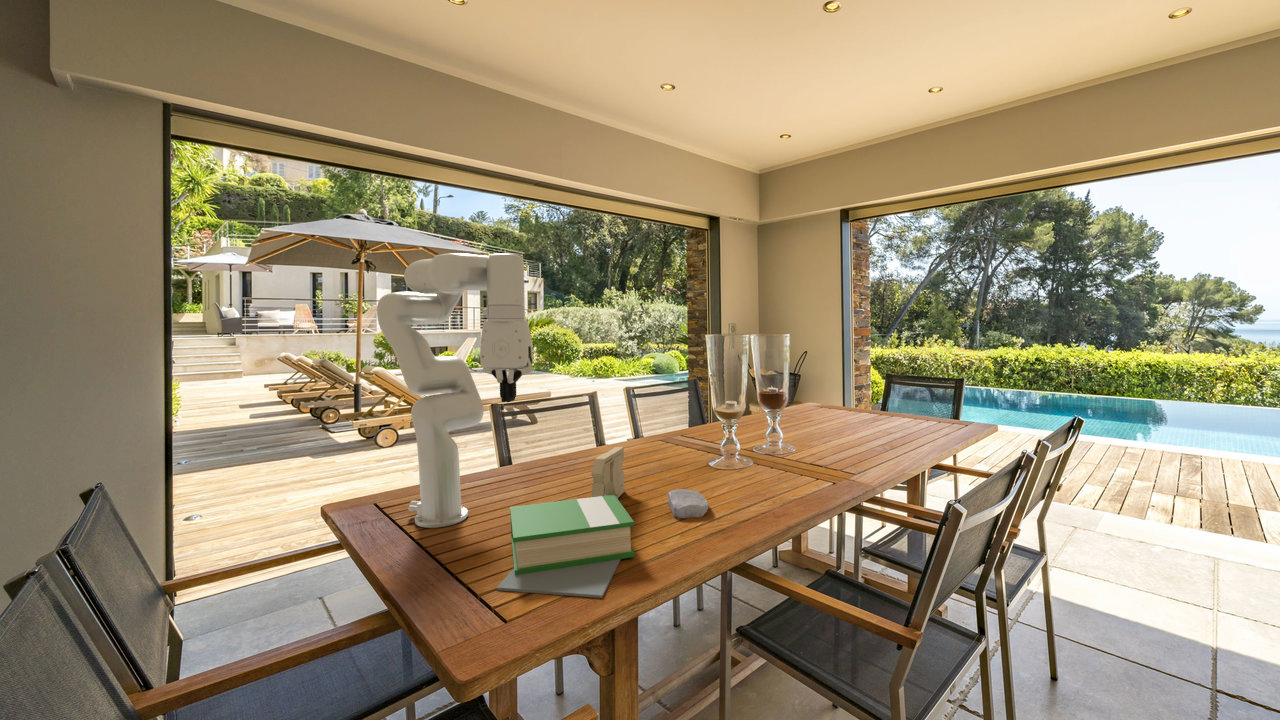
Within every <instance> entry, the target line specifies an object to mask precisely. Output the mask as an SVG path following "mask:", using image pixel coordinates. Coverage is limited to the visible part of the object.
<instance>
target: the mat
mask: <svg viewBox="0 0 1280 720" xmlns="http://www.w3.org/2000/svg"><path fill="white" fill-rule="evenodd" d="M621 560H622V559H618V560H611V561H604V562H598V563H591V564H585V565H578V566H572V567H565V568H559V569H552V570H546V571H539V572H533V573H526V574H520V575H515V571H514V568H512V569H511V571H510V572H509V573H508V574H507V576H505V577H504V578H503V579H502V581H501V582H500V583H499V584H498V585H497V586H496V590H497V591H506V592H518V593H520V592H521V593H532V594H542V595H543V594H545V595H546V594H547V595H557V596H558V595H559V596H567V597H568V596H569V597H570V596H571V597H583V598H585V597H586V598H594V599H603V598H604V596H605V593H606V591H607V589H608V587H609V585H610V583H611V581H612V578H613V577H614V575H615V572H616V570H617V568H618V566H619V564H620V561H621Z"/></svg>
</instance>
